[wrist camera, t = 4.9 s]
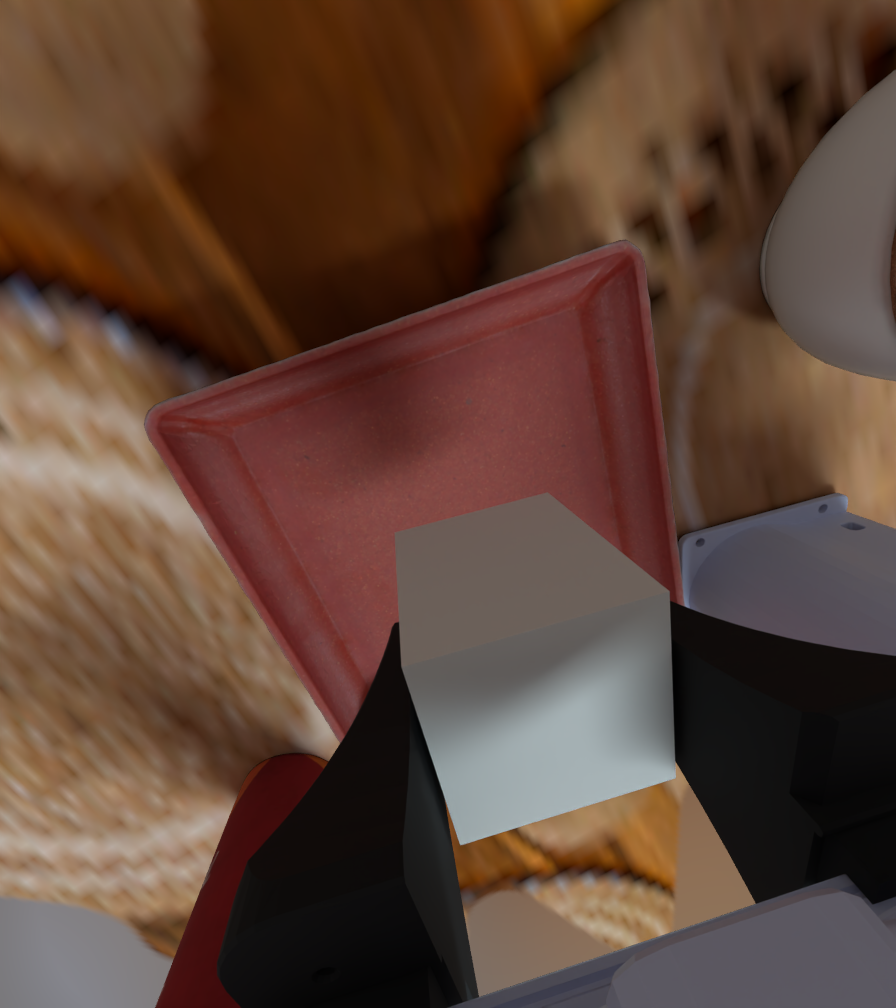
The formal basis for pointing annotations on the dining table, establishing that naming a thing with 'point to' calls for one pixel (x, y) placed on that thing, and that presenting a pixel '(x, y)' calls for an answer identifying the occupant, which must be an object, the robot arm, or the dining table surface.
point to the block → (533, 663)
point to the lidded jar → (841, 243)
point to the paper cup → (233, 876)
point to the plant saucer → (426, 452)
